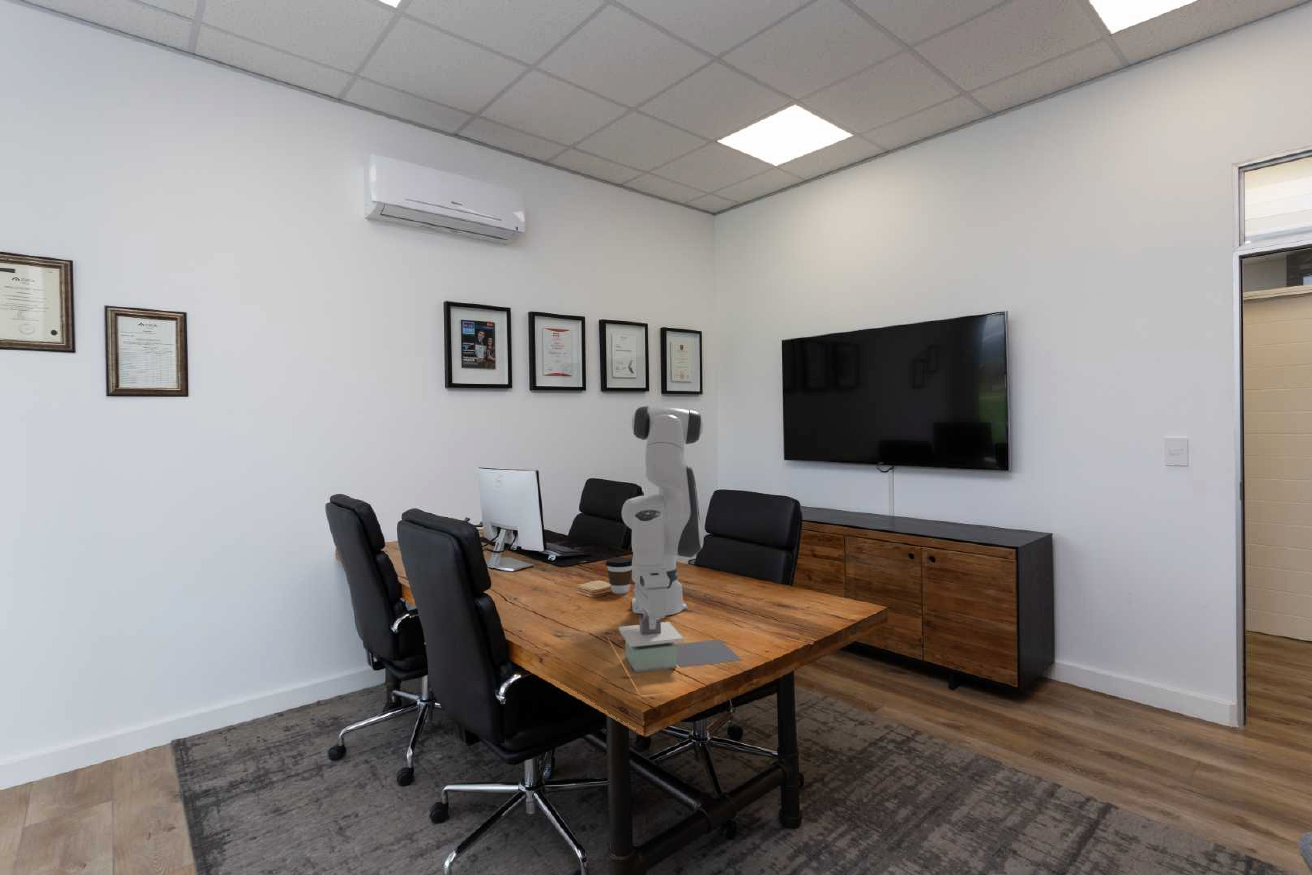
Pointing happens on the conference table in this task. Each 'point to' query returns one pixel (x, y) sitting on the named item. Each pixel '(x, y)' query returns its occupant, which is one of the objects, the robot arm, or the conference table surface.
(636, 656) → the pale green open box
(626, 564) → the coffee cup
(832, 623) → the conference table surface
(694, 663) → the mat
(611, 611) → the conference table surface
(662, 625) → the lid
